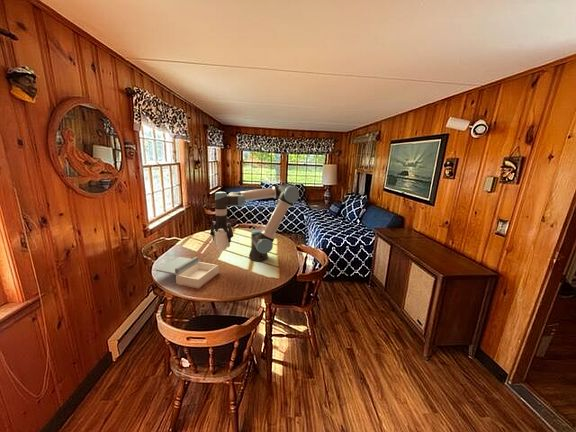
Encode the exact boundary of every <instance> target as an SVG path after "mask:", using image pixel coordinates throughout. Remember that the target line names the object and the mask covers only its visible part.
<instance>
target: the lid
mask: <svg viewBox="0 0 576 432" xmlns="http://www.w3.org/2000/svg"><path fill="white" fill-rule="evenodd" d="M197 262H200V260H199V256H194V257H193V258H190V257H182V256H179V257H177V258H174V259H173V260H171V261H169V262H167V263H165V264H163V265H162V266H159V267H158V268H156V269H155V272H159V273H163V274H164V273H165V274H170V275H175V276H176V275H178V274H179V273H181V272H183V271H184V270H186V269H188V268H189V267H191V266H193V265H194V264H196V263H197Z"/></svg>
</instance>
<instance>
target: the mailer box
mask: <svg viewBox="0 0 576 432" xmlns="http://www.w3.org/2000/svg"><path fill="white" fill-rule="evenodd" d="M219 268H220V267H219V264H213V263H208V262H203V261H199V262H197V263H196V264H194V265H193V266H191V267H189V268H188V269H186V270H184V271H183V272H181V273H179V274H178V275H175V282H176V285H179V286H183V287H189V288H194V289H200V288H201V287H203V286H204V285H206V284H207V283H208V282H209V281H210V280H212V279H214V277H215V276H217V275H218V274H220V272H219Z"/></svg>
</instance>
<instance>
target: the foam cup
mask: <svg viewBox="0 0 576 432" xmlns="http://www.w3.org/2000/svg"><path fill="white" fill-rule="evenodd" d="M214 231H215V230H214ZM215 238H216V244H217V245H216V249H217V250H218V251H225V250H227V248H228V247H227V238H228V237H227V232H225V231H224V230H223V228H219V229H218V231H217V232H216V231H215Z"/></svg>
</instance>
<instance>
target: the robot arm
mask: <svg viewBox="0 0 576 432" xmlns="http://www.w3.org/2000/svg"><path fill="white" fill-rule="evenodd" d="M270 198H273V199H277V201H278V202H277V204H276V206H275V208H274V210H273V211H272V214H271V216H270V217H269V219H268V221H267V223H266V225H265V227H264V229H254V230H251V233H250V234H251V236H250V237H251V242H250V243H251V245H250V247H251V248H250V252H249V254H248V259H249V260H250V261H253V262H263V261H266V260H268V258H269V252H271V251H272V250H273V247H274V244H273V243H274V241H275V239H276V238H275V234H276V233H277V231H278V228H279V227H280V225H281V222H282V221H283V220H284V217H285V215H286V213H287V211H288V210H289V208H291V207H292V206H293V205H294V203H296V202H297V201H298V200H299V198H300V191H299V189H298V188H297V187H296V186H294V185H292V184H291V185H290V184H287V183H286V184H285V183H284V184H279V185H273V186H272V187H267V188H258V189H251V190H249V189H248V190H241V191H231V192H229V193H228V194H227V191H226V192H225V191H217V192H215V194H214V208H215V209H214V211H215V212H214V213H215V220H213V221H211V228H210V233H209V236H212V241H213V246H217V244H216V238H215V231H216V232H217V231H218V229H223V230H224V231H225V232H227V237H228V238H227V248H229V247H231V242H232V239H233V237H234V232H233V229H232V223H231V222H228V215H227V214H228V208H227V207H236V206H237V207H242V206H245V202H248V201H249V202H250V201H255V200H263V199H270Z"/></svg>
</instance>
